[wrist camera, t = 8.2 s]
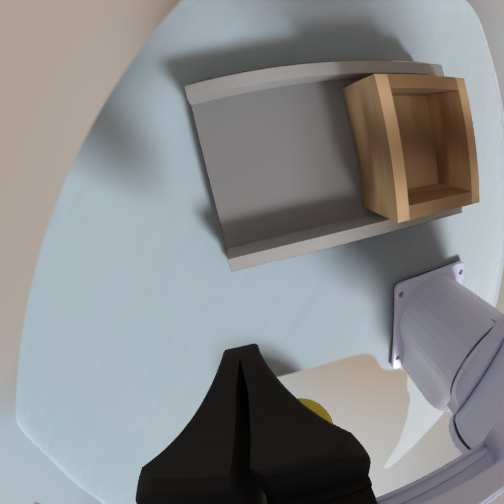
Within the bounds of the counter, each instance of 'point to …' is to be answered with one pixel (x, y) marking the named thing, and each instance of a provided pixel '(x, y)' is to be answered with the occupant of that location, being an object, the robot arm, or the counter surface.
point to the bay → (289, 158)
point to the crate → (413, 144)
